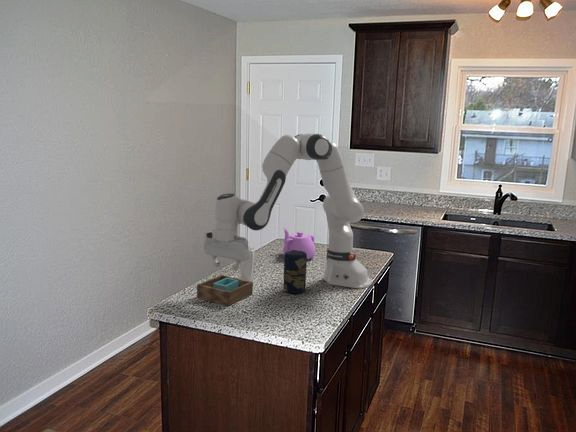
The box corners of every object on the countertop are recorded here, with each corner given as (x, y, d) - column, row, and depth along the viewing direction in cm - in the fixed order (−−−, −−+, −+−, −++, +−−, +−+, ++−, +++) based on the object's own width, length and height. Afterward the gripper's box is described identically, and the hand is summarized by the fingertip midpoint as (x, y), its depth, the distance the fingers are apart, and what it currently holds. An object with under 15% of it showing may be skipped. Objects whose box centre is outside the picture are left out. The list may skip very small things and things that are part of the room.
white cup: (251, 284, 219) (252, 251, 216) (236, 282, 220) (237, 249, 218) (255, 279, 226) (256, 247, 223) (241, 278, 227) (241, 246, 224)
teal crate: (238, 291, 206) (238, 280, 205) (225, 298, 198) (225, 286, 197) (226, 289, 209) (226, 277, 208) (213, 295, 201) (213, 283, 200)
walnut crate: (252, 294, 206) (252, 281, 205) (229, 306, 192) (229, 292, 191) (221, 287, 214) (221, 274, 213) (197, 297, 200) (197, 284, 199)
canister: (289, 296, 206) (291, 254, 203) (279, 288, 214) (280, 248, 211) (309, 293, 210) (311, 251, 207) (298, 286, 219) (300, 246, 215)
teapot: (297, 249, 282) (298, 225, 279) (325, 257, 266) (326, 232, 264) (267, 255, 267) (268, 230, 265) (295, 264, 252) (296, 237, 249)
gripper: (252, 236, 196) (252, 270, 199) (211, 229, 206) (211, 262, 208) (243, 239, 191) (243, 274, 193) (201, 232, 200) (201, 265, 203)
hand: (226, 268), depth 201 cm, fingers open, 8 cm apart
